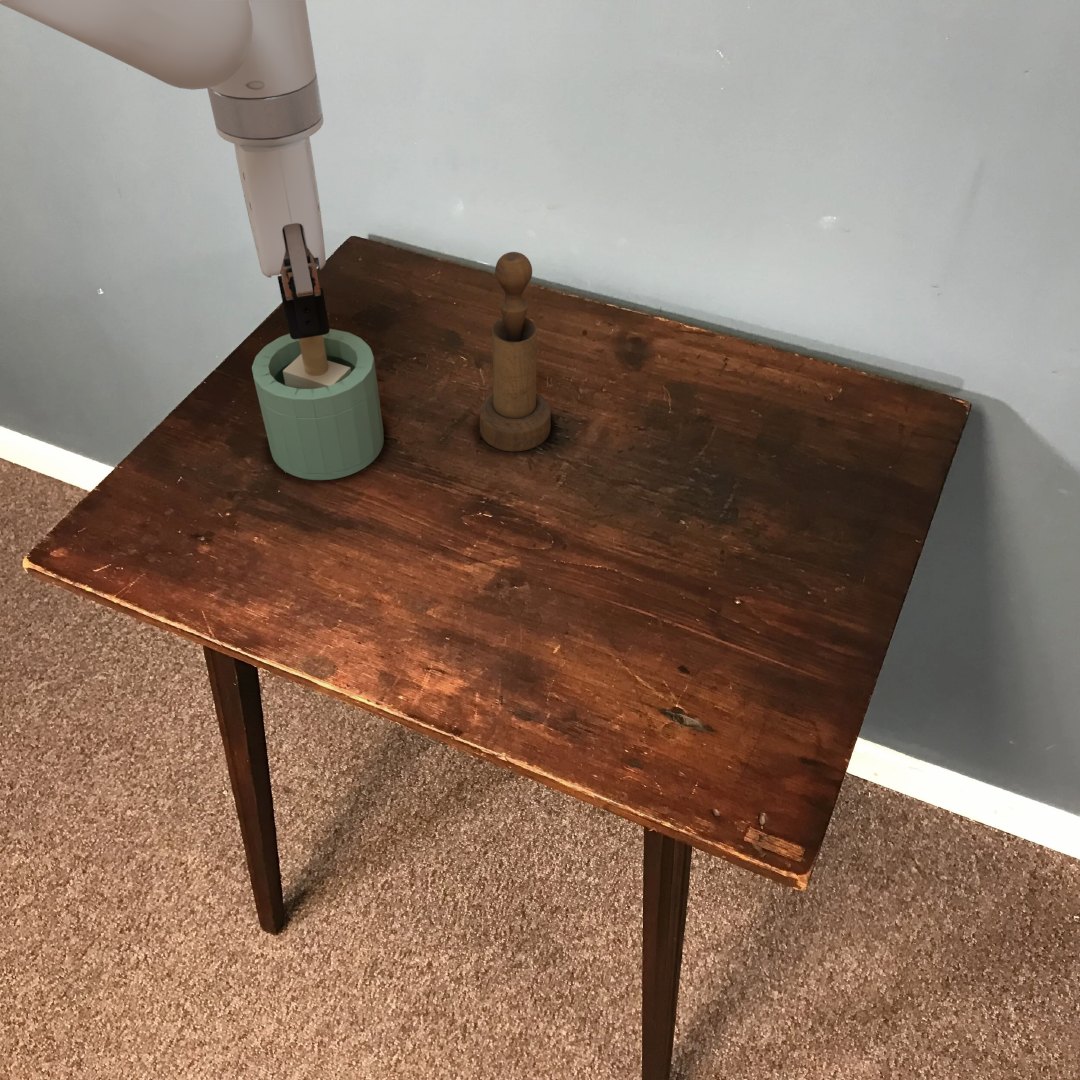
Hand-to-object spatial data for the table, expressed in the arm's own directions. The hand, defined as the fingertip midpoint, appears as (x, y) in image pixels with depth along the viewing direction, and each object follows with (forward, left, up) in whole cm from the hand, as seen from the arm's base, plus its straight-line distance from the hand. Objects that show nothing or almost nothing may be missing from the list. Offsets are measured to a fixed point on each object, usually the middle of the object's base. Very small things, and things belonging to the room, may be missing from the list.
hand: (307, 324), depth 86 cm
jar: (0, 0, -13) cm, 13 cm away
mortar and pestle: (+17, -3, -13) cm, 21 cm away
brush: (0, 0, -8) cm, 8 cm away
